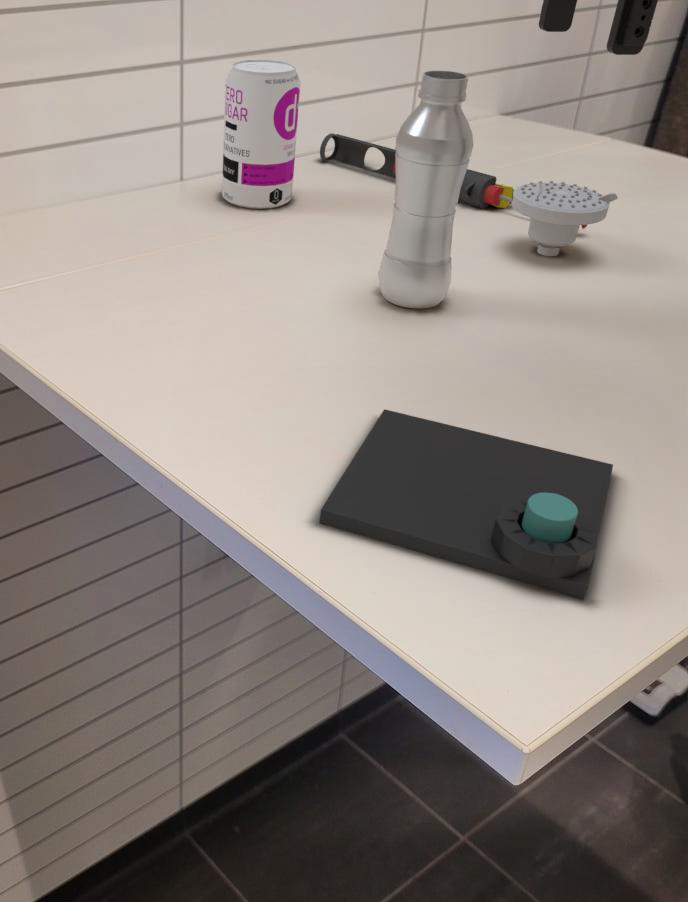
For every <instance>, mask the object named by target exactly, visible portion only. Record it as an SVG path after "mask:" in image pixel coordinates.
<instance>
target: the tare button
mask: <svg viewBox="0 0 688 902" xmlns="http://www.w3.org/2000/svg"><path fill="white" fill-rule="evenodd" d="M577 515H578V509H577V507H576V505H575V504H574V503H573V502H572V501H571V500H569V499H567V498H566V497H563V496H561V495H558V494H554V493H537V494H534V495H532V496H531V497H530V498H529V499H528V502H527V506H526V510H525V513H524V517H523V521H522V528H523V530H524V532H525V533H526V534H528V535H529V536H531V537H532V538H534V539H537V540H541V541H545V542H548V543H564V542H566V541H567V540H568V539H569V538H570V537H571V534H572V531H573V528H574V524H575V521H576V518H577Z"/></svg>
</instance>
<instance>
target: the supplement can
mask: <svg viewBox="0 0 688 902" xmlns="http://www.w3.org/2000/svg"><path fill="white" fill-rule="evenodd" d="M299 77H300V76H299V75H298V72H297V69H296V66H295V65H294V64H293V63H289V62H286V61H282V60H281V61H280V60H273V59H245V60H239V61H236V62H233V63H232V64H231V69H230V70H229V72H228V74H227V76H226V78H225V88H224V89H225V91H224V93H225V94H224V122H223V148H222V149H223V150H222V153H223V155H222V177H221V178H222V183H221V195H222V198H223V199H224V200H226V201H227V202H228V203H229V204H231V205H234V206H237V207H240V208H247V209H256V210H258V209H259V210H265V209H274V208H279V207H281V206H283V205H285V204H287V203H289V202H290V201H291V199H292V197H293V188H294V173H295V160H296V148H297V147H296V146H297V132H298V121H299V107H300V94H301V80H300V78H299Z"/></svg>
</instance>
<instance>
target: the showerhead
mask: <svg viewBox="0 0 688 902" xmlns="http://www.w3.org/2000/svg"><path fill="white" fill-rule="evenodd" d="M618 197H619V196H618V194H616V192H612V193H611V192H610V193H607V194H604V195H603V194H602V193H600V192H598V191H597V190H595V189H589V188H588V186H584V187H583V186H578V184H577V183H573V184H568V183H566V182H565V181H561V183H558V182H554V181H553V180H550V181H548V182H543V181H541V180H540V181H538V182H531V181H530V182H529V183H525V184H522V185H520V186H517V187H516V188H514V192H513V197H512V202H511V207H512V209H513V210H514V211H516V213H519V214H520V215H522V216H524V217H527V218H529V219H530V221H529V225H528V231H527V235H528V236H529V238H530V239H531V240H533V241H534V242H536V243H538V245H537V249H536V252H537V253H538V254H540V255H542V256H545V257H556V256H558V255H559V253H560V249H561V247H564V246H569V245H571V244H573V243H575V241H576V240H577V236H578V232H579V229H580V226H582V225H587V224H588V225H593V224H597V223H599V222H600V223H601V222H602V221H604V220H605V219H606V218H607V214H608V211H609V208H610V205H611V203H612V202H614V201H615V200H618ZM588 225H587V226H588Z"/></svg>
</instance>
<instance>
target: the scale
mask: <svg viewBox="0 0 688 902" xmlns="http://www.w3.org/2000/svg"><path fill="white" fill-rule="evenodd" d="M613 467H614V464H612V463H608V462H604V461H600V460H596V459H591V458H589V457H588V458H587V457H583V456H579V455H575V454H571V453H567V452H563V451H559V450H555V449H550V448H546V447H542V446H537V445H533V444H530V443H525V442H522V441H518V440H513V439H509V438H505V437H502V436H501V437H500V436H497V435H492V434H489V433H484V432H480V431H476V430H473V429H472V430H471V429H469V428H463V427H460V426H455V425H451V424H446V423H443V422H439V421H435V420H430V419H426V418H422V417H418V416H414V415H410V414H405V413H401V412H398V411H394V410H390V409H384V408H383V410H382V412H381V414H380V415H379V417H378V418H377V420H376V422H375V423H374V425H373V426H372V428H371V430H370V431H369V433H368V434H367V436H366V438H365V439H364V440H363V442H362V443H361V445H360V447H359V448H358V449H357V452H356V453H355V455H354V457H353V458H352V460H351V461H350V463H349V464H348V466H347V467H346V468H345V471H344V472H343V473H342V475H341V477H340V479H339V480H338V481H337V484H336V485H334V486H335V487H334V488H333V490H332V491H331V493H330V494H329V496H328V498H327V499H326V501H324V504H323V505H322V507H321V508H320V513H319V521H318V523H319V524H321V525H325V526H327V527H331V528H334V529H339V530H341V531H346V532H349V533H352V534H355V535H359V536H361V537H366V538H369V539H372V540H375V541H379V542H383V543H387V544H390V545H394V546H397V547H400V548H404V549H407V550H411V551H415V552H418V553H421V554H424V555H426V556H427V555H428V556H431V557H434V558H437V559H441V560H445V561H447V562H452V563H455V564H458V565H461V566H462V565H463V566H465V567H470V568H473V569H475V570H479V571H482V572H486V573H490V574H493V575H496V576H500V577H504V578H507V579H510V580H514V581H517V582H521V583H523V584H528V585H531V586H534V587H538V588H541V589H544V590H548V591H552V592H554V593H559V594H561V595H565V596H569V597H572V598H575V599H579V600H583V601H585V599H586V596H587V593H588V590H589V587H590V581H591V577H592V572H593V567H594V562H595V556H596V552H597V548H598V542H599V539H600V538H599V537H600V532H601V527H602V522H603V517H604V513H605V508H606V504H607V497H608V493H609V488H610V483H611V477H612V474H613ZM537 493H554V494H558V495H561V496H563V497H566V498H567V499H569V500H571V501H572V502H573V503H574V504H575V505H576V507H577V509H578V515H577V518H576V521H575V524H574V528H573V531H572V534H571V537H570V538H569V539H568V540H567V541H566V542H564V543H548V542H545V541H541V540H537V539H534V538H532V537H531V536H529V535H528V534H526V533H525V532H524V530H523V528H522V521H523V517H524V513H525V510H526V506H527V502H528V499H529V498H530V497H531V496H532V495H534V494H537Z"/></svg>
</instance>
